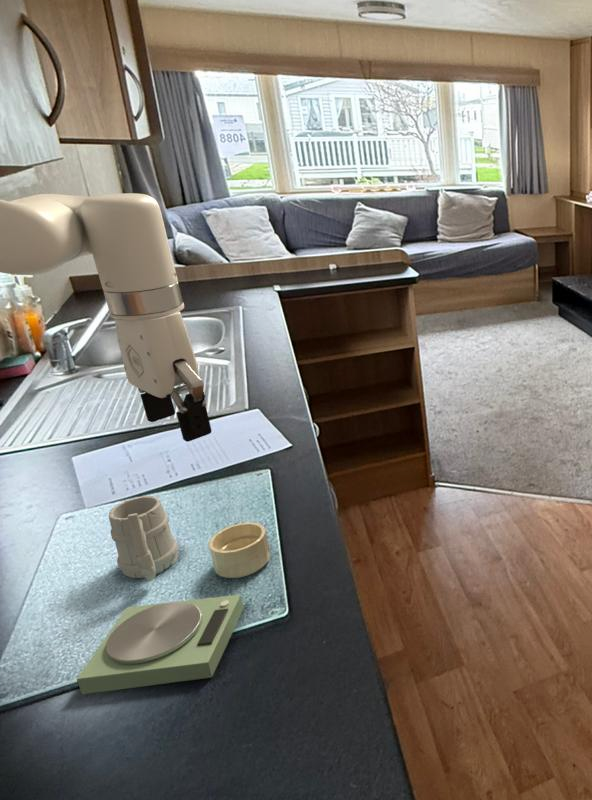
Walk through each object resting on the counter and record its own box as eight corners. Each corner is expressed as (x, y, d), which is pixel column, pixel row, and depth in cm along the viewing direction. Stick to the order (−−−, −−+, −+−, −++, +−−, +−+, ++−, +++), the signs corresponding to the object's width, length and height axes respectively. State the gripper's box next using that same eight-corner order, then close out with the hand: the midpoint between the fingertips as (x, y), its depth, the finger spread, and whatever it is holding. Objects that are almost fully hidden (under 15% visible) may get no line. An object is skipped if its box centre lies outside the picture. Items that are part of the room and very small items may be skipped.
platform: (89, 669, 76) (88, 665, 76) (131, 610, 85) (129, 606, 85) (183, 658, 77) (182, 654, 77) (213, 600, 87) (212, 597, 86)
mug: (178, 541, 103) (160, 475, 99) (185, 582, 94) (165, 511, 90) (120, 558, 99) (98, 490, 94) (121, 603, 90) (97, 530, 85)
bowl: (208, 583, 94) (200, 555, 92) (225, 552, 100) (219, 525, 99) (263, 577, 95) (256, 549, 93) (276, 547, 102) (271, 520, 100)
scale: (81, 694, 76) (75, 677, 75) (131, 621, 87) (126, 605, 86) (212, 677, 78) (207, 660, 77) (244, 608, 89) (240, 592, 88)
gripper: (80, 296, 80) (118, 421, 86) (143, 319, 71) (180, 457, 77) (147, 284, 86) (178, 402, 92) (213, 303, 76) (243, 433, 83)
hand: (179, 427), depth 84 cm, fingers open, 9 cm apart
